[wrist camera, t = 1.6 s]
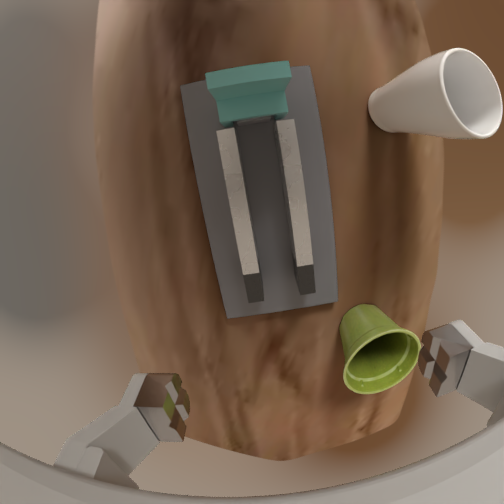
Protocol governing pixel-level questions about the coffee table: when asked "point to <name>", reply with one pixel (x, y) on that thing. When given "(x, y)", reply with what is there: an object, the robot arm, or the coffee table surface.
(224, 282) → the plate
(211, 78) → the collar
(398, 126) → the white cup
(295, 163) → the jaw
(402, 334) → the plant pot
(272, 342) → the coffee table surface
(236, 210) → the jaw
